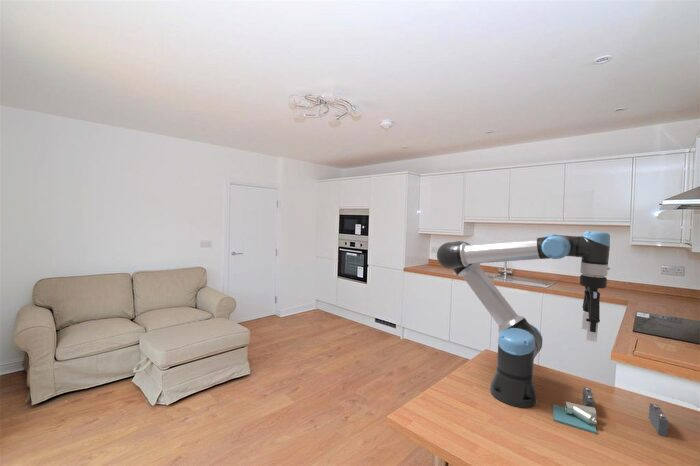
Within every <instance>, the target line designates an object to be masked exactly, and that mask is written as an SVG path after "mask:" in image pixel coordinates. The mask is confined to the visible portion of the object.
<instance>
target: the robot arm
mask: <svg viewBox="0 0 700 466" xmlns="http://www.w3.org/2000/svg"><path fill="white" fill-rule="evenodd" d="M610 247H611V235H610V233H608V232H605V231H588V230H586V231H584V232H583V234H582V236H581V235H580V236H578V235H577V236H576V235H564V234H563V235H560V234H546V235H544V236H541V237H533V238H523V239H514V240H505V241H504V240H503V241H494V242H493V241H492V242H485V243H475V244H470V243H469V242H466V241H463V240H462V241H461V240H457V241H450V242H445V243H443V244H441V245H440V246H439V247H438V249H437V250H436V251H437V252H436V259H437V262H438V263H439V265H440V266H441V267H442V268H444V269H446V270H447V269H448V270H453V272H454V273H455V274H456V275H457V276H458V277H461V278H463V279H464V280H465V282H466V283H467V284H468V286H469V287H470V289H471V290H472V291H473V293H474V294H475V296H476V297H477V298H478V300H479V301H480V302H481V304H482V305H483V306H484V308H485V309H486V311H487V312H488V314H489V315H490V316H491V317H492V318H493V320H494V321H495V323H496V324H497V326H498V338H497V342H498V343H497V344H498V346H497V356H496V357H497V360H496V370H495V373H494V376H493V377H492V380H491V383H490V384H489V385H490V386H489V387H490V388H489V392H490V394H491V395H492V396H493V398H495V399H497V400H498V401H500V402H502V403H504V404H507V405H509V406H513V407H516V408H532V407H534V406H536V405H537V400H538V396H537V391H536V388H535V384H534V381H533V374H534V361H535V358H536V357H537V355H538V354H539V352H540V351H541V349H542V347H543V336H542V333H541V332H540V330H539V329H538V328H537V327H536V326H534V325H533V324H530V322H528V321H527V319H526V318H525V317H524V316H521V315H519V314H517V313H516V311H515V310H514V308H513V307H512V306H511V304H510V303H509V302H508V301H507V300H506V298H505V297H504V296H503V294H502V293H501V292H500V290H499V289H498V287H497V286H496V285H495V284H494V282H493V281H492V280H491V278H490V277H489V276H488V275H487V274H486V272H485V271H484V270H483V268H482V267H481V264H486V263H500V262H517V261H530V260H531V261H532V260H548V259H549V260H550V259H553V260H558V259H559V260H560V259H563V258H565V257H573V258H581V259H580V260H581V262H580V275H579V285H580V286H582V287H584V295H583V300H582V301H583V303H582V306H581V307H582V320H581V330H585V331H586V339H585V340H586V341H588V342H589V341H590V342H593V343H594V342H595V343H597V342H598V330H599V329H598V328H599V323H600V322H601V320H600V318H601V317H600V313H601V312H600V311H601V309H600V303H601V301H600V299H601V293H600V292H599V290H598V289H606V288H607V284H608V279H607V276H608V271H610V270H611V268H610V267H609V259H610Z"/></svg>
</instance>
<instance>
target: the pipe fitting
mask: <svg viewBox="0 0 700 466" xmlns="http://www.w3.org/2000/svg"><path fill="white" fill-rule="evenodd" d="M563 405H564V406H563V407H564V409H565V413H569V414H574V415H575V416H577V417H578V418H580V419H582V420H583V421H585V422H586V423H588V424H590V425H592V424H595V425H596V424H597V423H598V421H597V410H596V408H595V407H594V408H593V407H588V406H584V404H583V405H582V404H577V403H572V402H569V401H564V403H563Z"/></svg>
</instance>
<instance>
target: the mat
mask: <svg viewBox="0 0 700 466" xmlns="http://www.w3.org/2000/svg"><path fill="white" fill-rule="evenodd" d="M552 413H553V421H554V422H556V423H559V424H562V425H567V426H569V427H572V428H575V429H579V430H582V431H586V432H589V433H592V434H595V435H597V433H598V431H597V429H596V424H592V425H590V424H588V423H586V422H585V421H583V420H582V419H580V418H578V417H577V416H575V415H574V414H569V413H565V409H564V406H561V405H557V404H552Z"/></svg>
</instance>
